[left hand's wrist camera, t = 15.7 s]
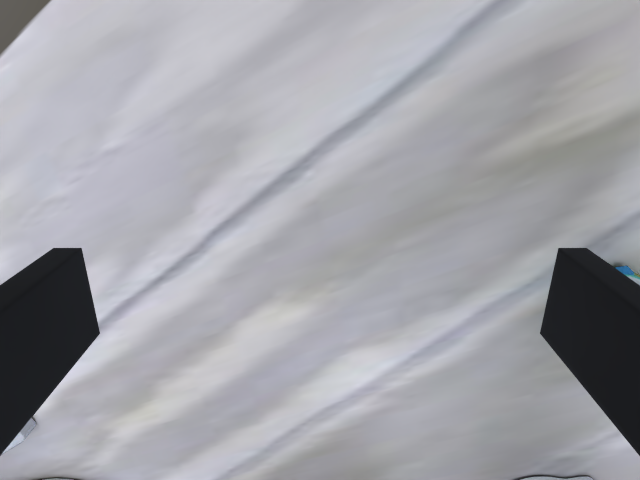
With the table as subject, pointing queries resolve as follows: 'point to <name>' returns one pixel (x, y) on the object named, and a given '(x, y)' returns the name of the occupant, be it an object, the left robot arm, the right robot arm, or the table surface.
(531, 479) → the right robot arm
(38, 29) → the table surface
